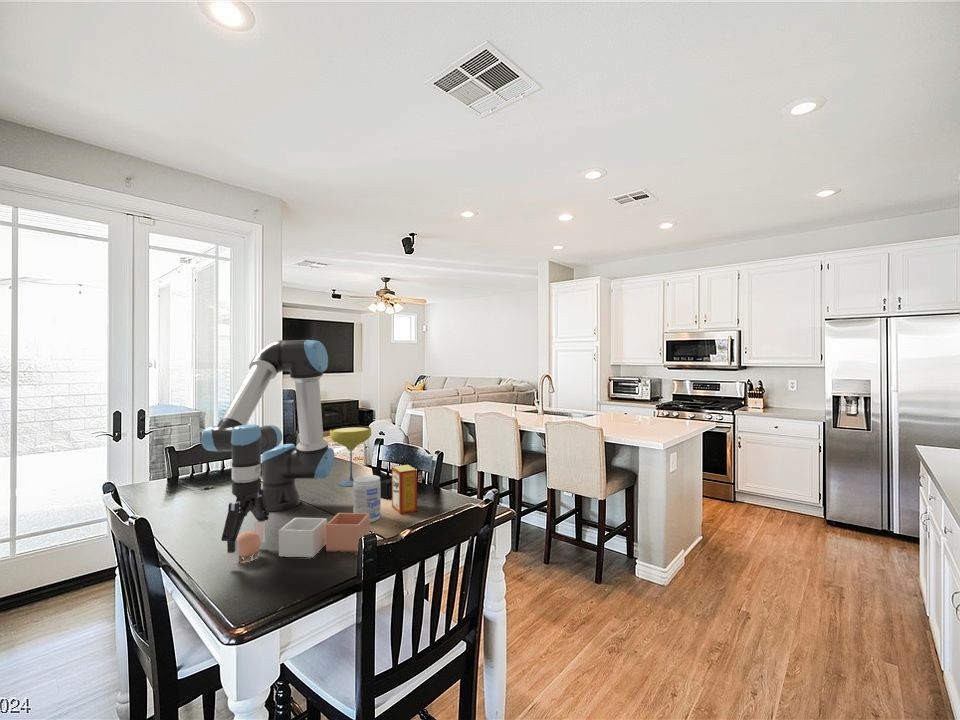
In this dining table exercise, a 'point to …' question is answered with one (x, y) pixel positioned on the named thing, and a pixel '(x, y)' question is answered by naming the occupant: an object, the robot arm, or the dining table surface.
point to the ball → (248, 543)
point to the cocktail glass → (350, 442)
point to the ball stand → (248, 558)
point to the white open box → (302, 537)
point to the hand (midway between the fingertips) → (247, 552)
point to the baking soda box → (404, 488)
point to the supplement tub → (367, 496)
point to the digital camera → (386, 489)
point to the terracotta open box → (346, 531)
